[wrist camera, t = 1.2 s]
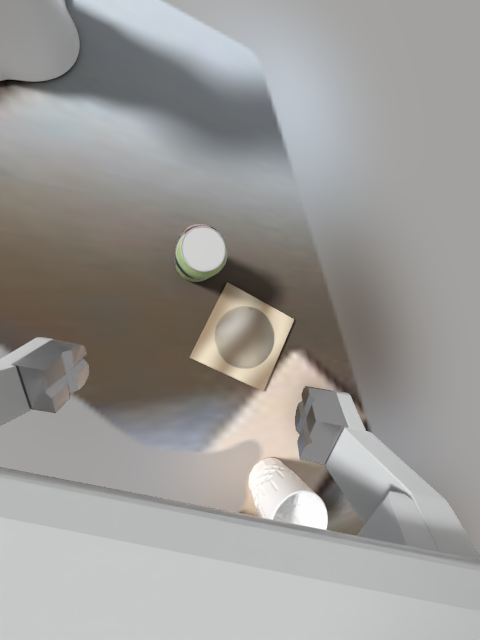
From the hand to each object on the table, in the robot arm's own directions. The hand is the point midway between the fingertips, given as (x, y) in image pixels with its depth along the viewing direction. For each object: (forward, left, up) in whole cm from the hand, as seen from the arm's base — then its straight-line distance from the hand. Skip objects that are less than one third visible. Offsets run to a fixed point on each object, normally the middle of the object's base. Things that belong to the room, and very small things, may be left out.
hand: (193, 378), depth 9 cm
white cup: (+23, -13, -29) cm, 39 cm away
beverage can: (-3, +12, -29) cm, 31 cm away
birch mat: (+9, +6, -29) cm, 31 cm away
